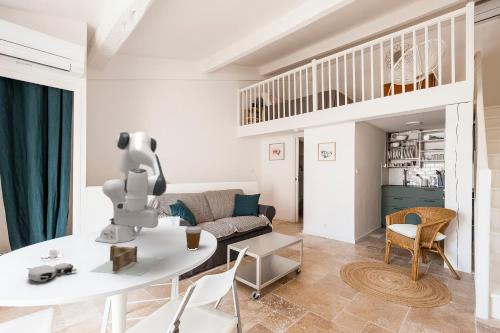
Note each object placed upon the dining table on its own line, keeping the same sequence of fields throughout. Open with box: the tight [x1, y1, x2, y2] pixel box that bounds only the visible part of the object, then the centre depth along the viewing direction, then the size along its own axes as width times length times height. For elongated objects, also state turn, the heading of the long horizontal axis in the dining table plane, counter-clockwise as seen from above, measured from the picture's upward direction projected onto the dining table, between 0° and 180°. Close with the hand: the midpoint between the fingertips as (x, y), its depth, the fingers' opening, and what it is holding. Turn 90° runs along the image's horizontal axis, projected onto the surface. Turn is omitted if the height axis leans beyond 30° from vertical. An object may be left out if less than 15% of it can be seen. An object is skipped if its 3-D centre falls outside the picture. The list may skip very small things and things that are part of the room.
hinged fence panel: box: [113, 247, 136, 272], centre depth 112 cm, size 13×2×6 cm, turn 169°
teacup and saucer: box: [40, 248, 64, 262], centre depth 123 cm, size 9×8×4 cm
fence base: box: [109, 244, 138, 262], centre depth 120 cm, size 14×2×7 cm, turn 83°
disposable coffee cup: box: [184, 226, 203, 249], centre depth 143 cm, size 10×10×12 cm
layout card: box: [89, 256, 163, 277], centre depth 115 cm, size 24×20×1 cm
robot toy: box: [26, 262, 78, 283], centre depth 102 cm, size 12×4×15 cm
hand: (135, 236), depth 108 cm, fingers closed
